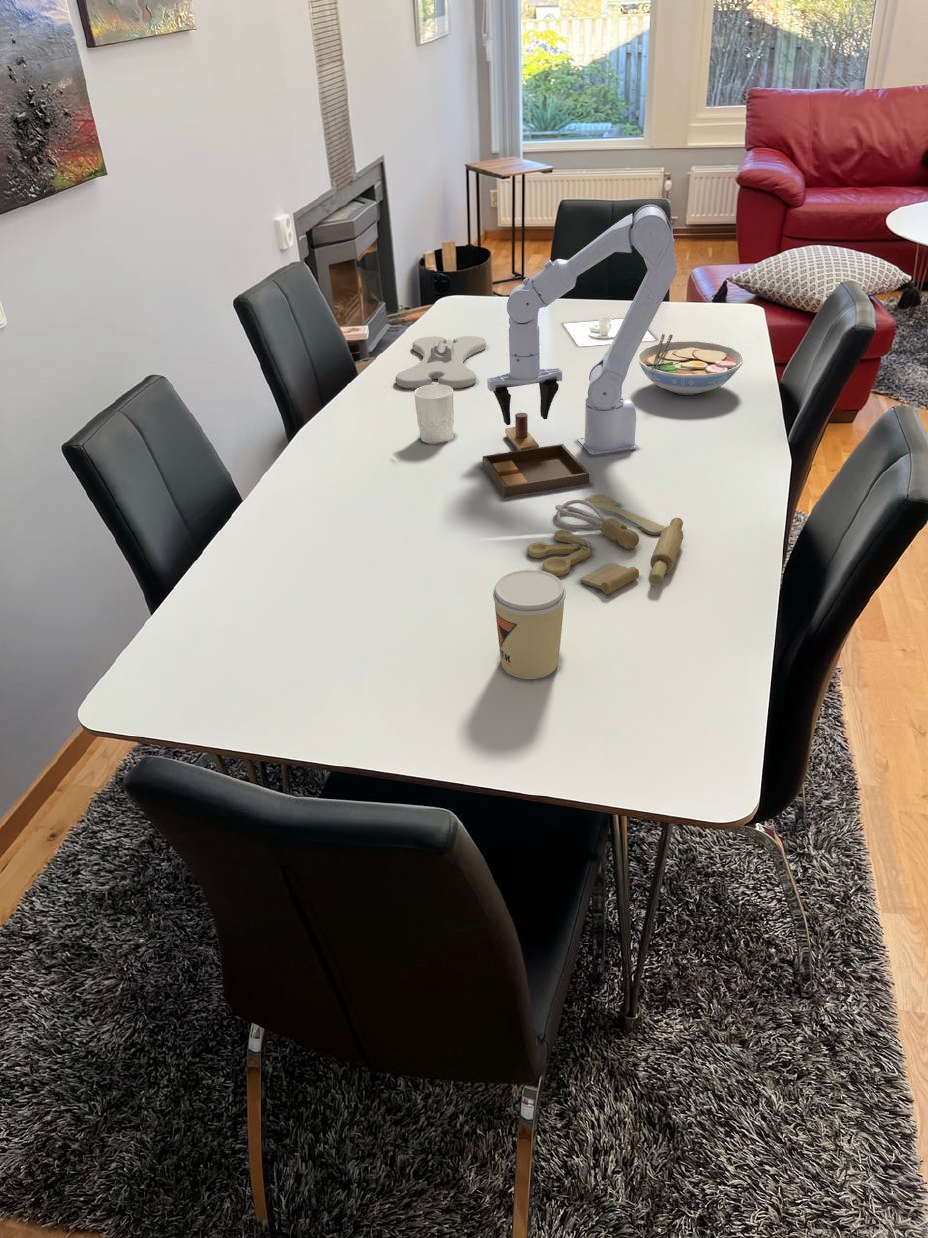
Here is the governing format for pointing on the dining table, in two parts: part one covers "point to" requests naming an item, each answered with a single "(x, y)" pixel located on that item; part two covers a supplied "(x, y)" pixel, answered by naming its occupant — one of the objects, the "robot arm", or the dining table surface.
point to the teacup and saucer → (597, 332)
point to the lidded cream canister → (529, 622)
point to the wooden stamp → (521, 434)
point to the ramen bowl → (689, 365)
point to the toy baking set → (612, 573)
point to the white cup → (435, 412)
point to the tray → (539, 470)
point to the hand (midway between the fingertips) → (525, 420)
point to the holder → (442, 362)
